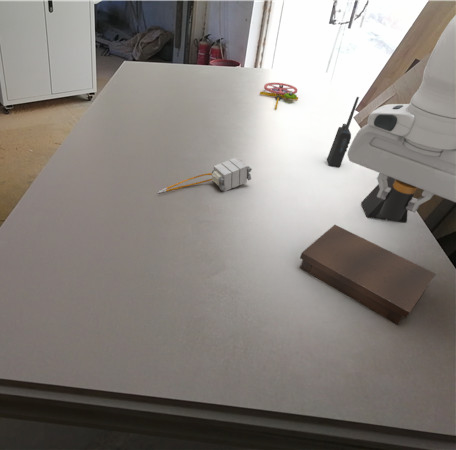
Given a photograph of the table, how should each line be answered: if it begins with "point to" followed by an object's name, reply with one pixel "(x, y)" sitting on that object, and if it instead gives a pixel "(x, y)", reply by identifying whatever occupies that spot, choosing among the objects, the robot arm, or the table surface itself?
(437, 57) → the robot arm
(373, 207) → the phone stand
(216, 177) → the electrical component
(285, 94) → the mechanical gear assembly
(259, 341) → the table surface
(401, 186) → the battery
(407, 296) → the block
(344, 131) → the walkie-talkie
